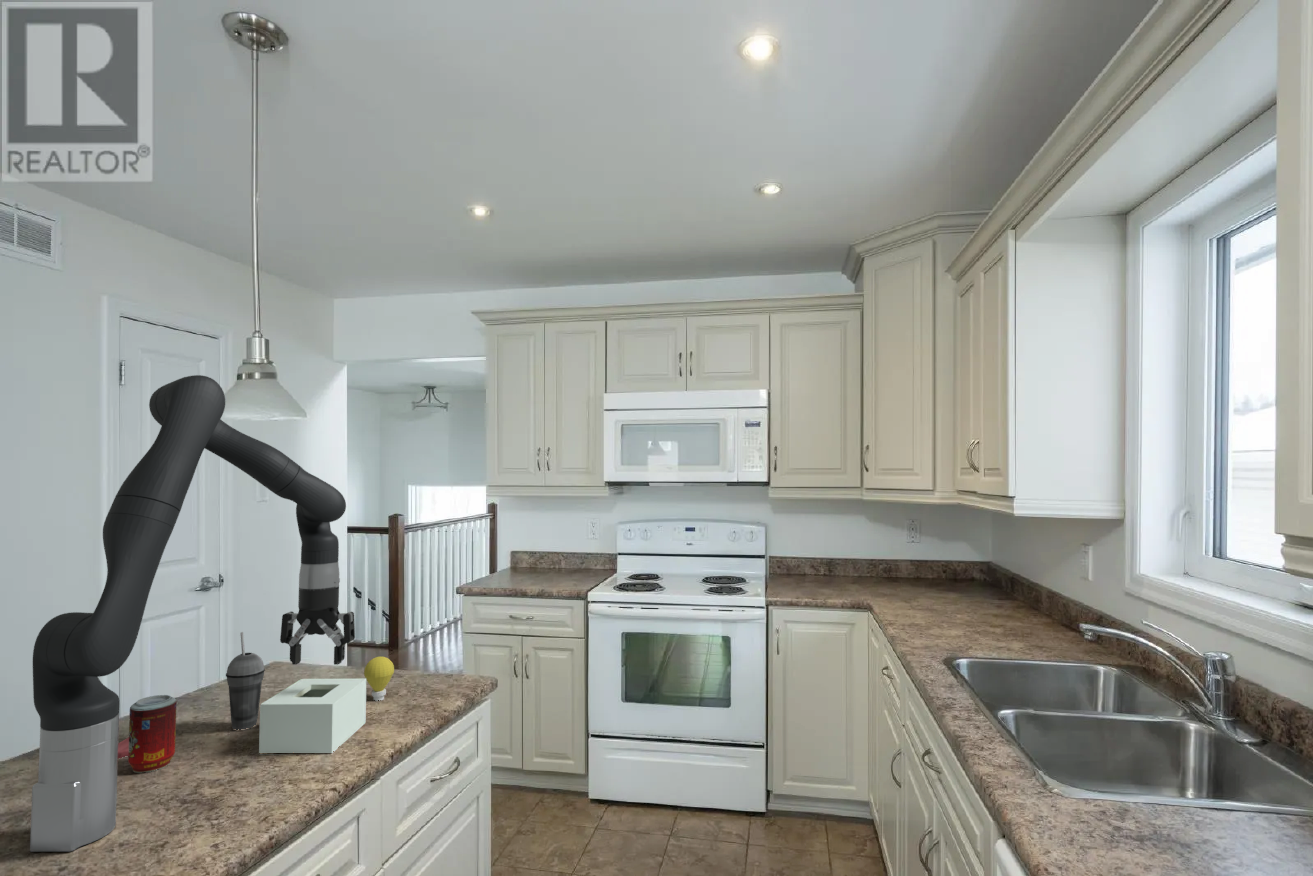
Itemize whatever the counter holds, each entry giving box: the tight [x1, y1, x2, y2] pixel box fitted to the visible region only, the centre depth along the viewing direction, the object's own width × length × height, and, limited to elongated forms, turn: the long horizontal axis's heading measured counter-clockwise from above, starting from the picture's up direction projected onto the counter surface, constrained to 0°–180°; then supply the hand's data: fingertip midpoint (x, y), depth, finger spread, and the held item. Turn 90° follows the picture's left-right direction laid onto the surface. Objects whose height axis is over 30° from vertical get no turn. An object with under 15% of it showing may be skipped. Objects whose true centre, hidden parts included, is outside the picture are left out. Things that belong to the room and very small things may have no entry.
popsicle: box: [118, 736, 129, 760], centre depth 138 cm, size 5×2×15 cm
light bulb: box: [363, 656, 395, 702], centre depth 164 cm, size 7×7×10 cm
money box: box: [258, 677, 367, 754], centre depth 141 cm, size 16×14×10 cm
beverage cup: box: [225, 631, 266, 730], centre depth 147 cm, size 7×7×20 cm
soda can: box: [127, 694, 178, 774], centre depth 127 cm, size 7×7×12 cm
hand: (317, 663), depth 141 cm, fingers open, 8 cm apart
